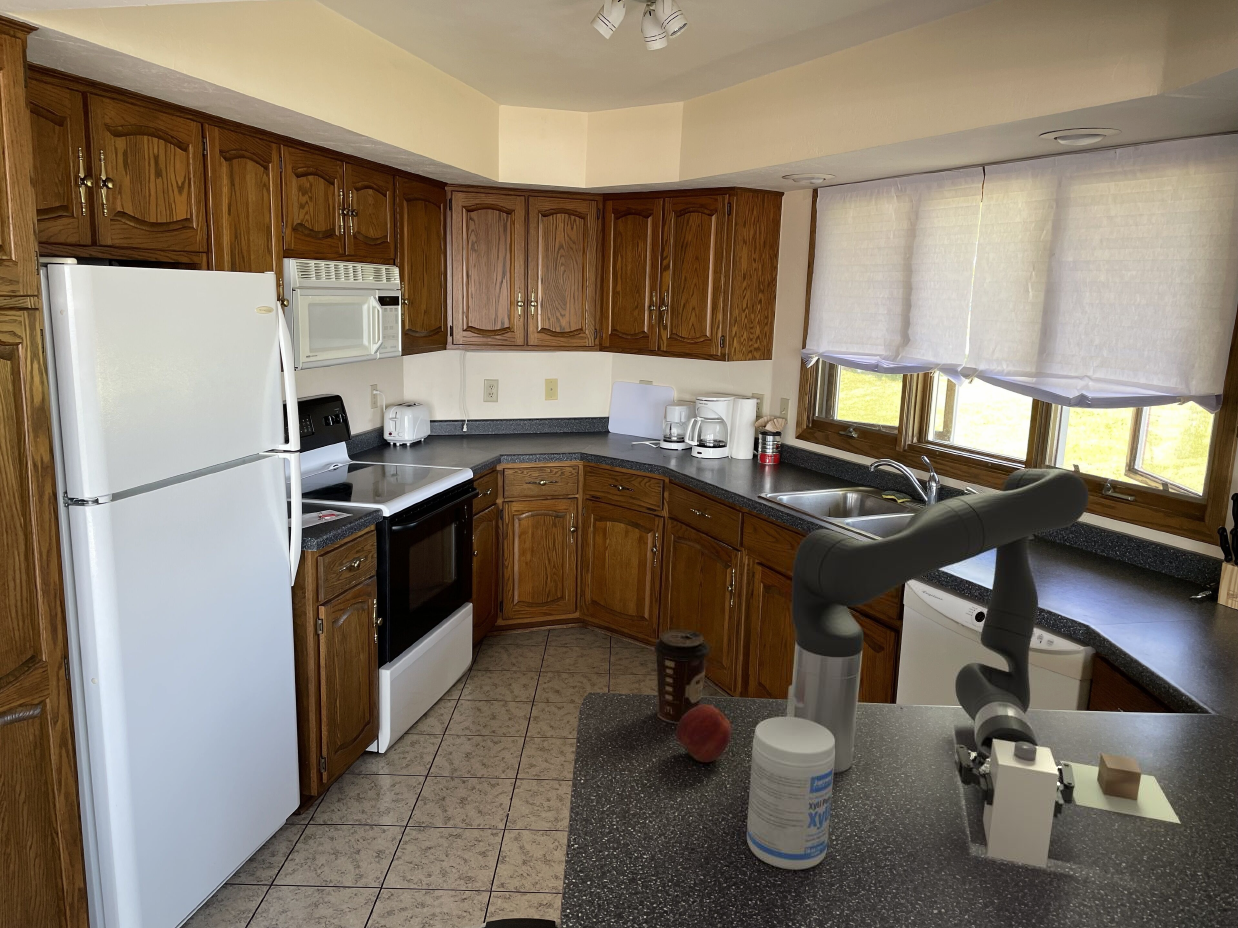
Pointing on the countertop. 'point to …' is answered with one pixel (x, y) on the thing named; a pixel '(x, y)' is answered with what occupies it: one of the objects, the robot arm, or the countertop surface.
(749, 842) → the supplement tub
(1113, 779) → the block
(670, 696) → the coffee cup
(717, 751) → the apple
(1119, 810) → the mat
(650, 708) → the countertop surface
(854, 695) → the robot arm
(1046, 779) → the cover
